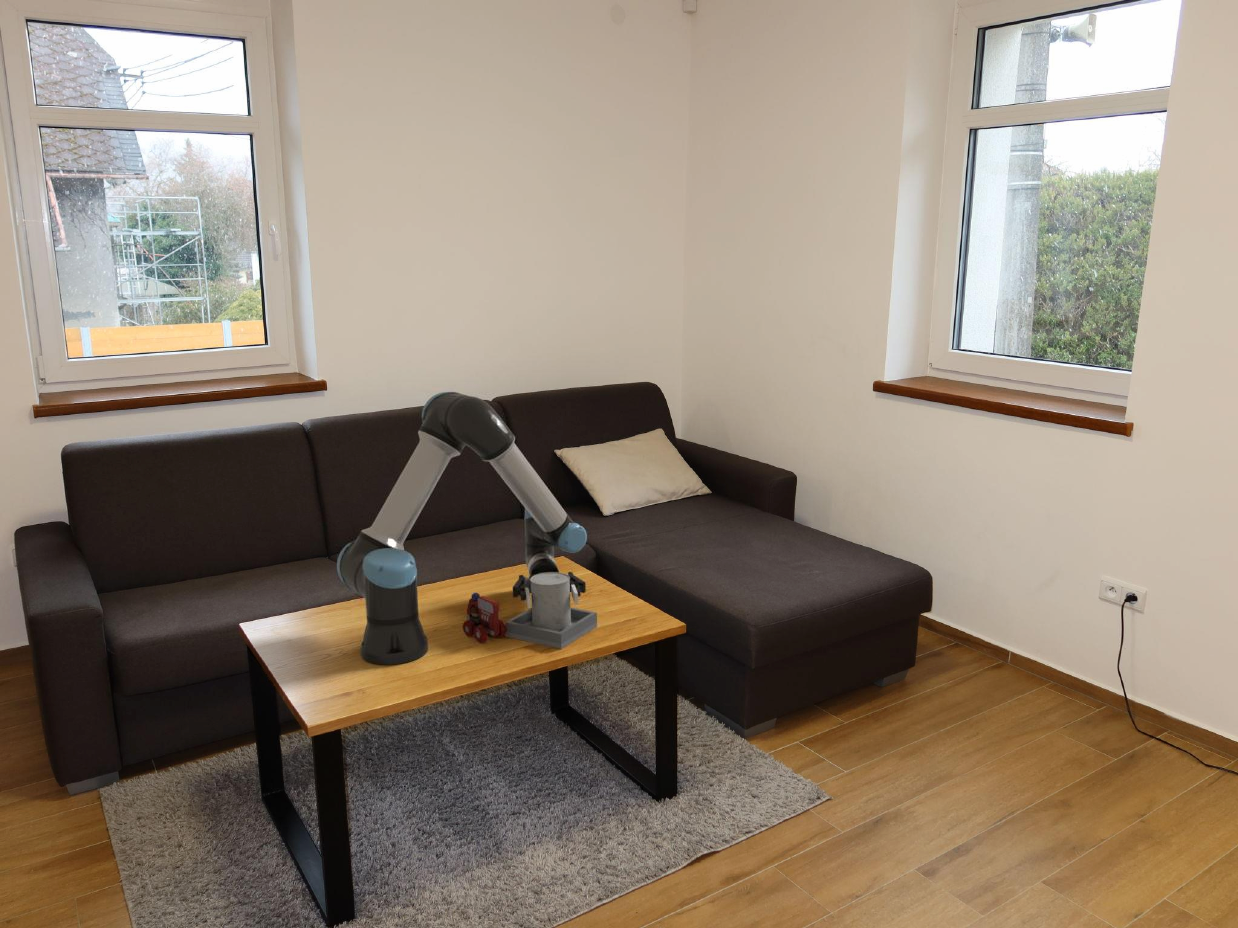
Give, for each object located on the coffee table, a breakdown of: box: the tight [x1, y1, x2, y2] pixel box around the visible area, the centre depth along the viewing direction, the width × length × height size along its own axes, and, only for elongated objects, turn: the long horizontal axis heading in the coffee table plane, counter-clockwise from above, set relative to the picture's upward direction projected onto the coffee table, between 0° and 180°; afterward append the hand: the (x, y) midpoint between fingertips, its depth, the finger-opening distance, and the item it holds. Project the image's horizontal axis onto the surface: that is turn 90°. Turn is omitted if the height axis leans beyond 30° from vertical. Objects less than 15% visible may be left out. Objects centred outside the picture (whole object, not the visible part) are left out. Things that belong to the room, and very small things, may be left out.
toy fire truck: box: [462, 592, 506, 644], centre depth 233 cm, size 7×12×10 cm, turn 40°
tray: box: [504, 606, 598, 650], centre depth 236 cm, size 16×16×4 cm
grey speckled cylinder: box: [530, 572, 571, 632], centre depth 235 cm, size 10×10×12 cm
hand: (552, 600), depth 231 cm, fingers open, 11 cm apart
